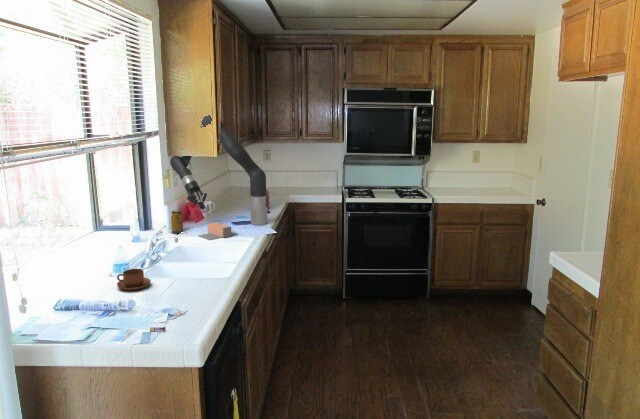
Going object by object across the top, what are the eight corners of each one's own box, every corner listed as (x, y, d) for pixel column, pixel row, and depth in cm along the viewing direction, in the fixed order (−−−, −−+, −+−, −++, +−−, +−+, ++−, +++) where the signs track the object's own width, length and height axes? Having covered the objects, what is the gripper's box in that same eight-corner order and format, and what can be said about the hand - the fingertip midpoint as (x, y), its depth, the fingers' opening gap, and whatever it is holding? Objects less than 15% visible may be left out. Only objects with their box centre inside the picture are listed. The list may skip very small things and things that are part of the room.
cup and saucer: (117, 294, 177) (116, 278, 176) (117, 283, 188) (116, 268, 187) (151, 290, 182) (150, 274, 181) (149, 280, 193) (149, 265, 191)
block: (215, 222, 270) (231, 226, 260) (215, 231, 271) (231, 235, 261) (207, 223, 266) (223, 228, 256) (207, 232, 267) (223, 237, 257)
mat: (225, 230, 273) (225, 230, 273) (237, 234, 266) (237, 233, 266) (198, 236, 261) (198, 235, 261) (209, 240, 253) (209, 239, 253)
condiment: (179, 230, 274) (178, 209, 272) (188, 232, 269) (187, 211, 266) (168, 232, 269) (167, 211, 267) (176, 234, 264) (175, 213, 261)
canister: (247, 209, 334) (247, 184, 331) (255, 206, 347) (255, 182, 343) (265, 211, 331) (264, 185, 327) (272, 207, 343) (272, 182, 339)
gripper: (182, 181, 270) (195, 206, 264) (202, 179, 280) (215, 203, 274) (177, 189, 275) (190, 214, 269) (198, 187, 284) (210, 210, 278)
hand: (203, 208), depth 271 cm, fingers closed
